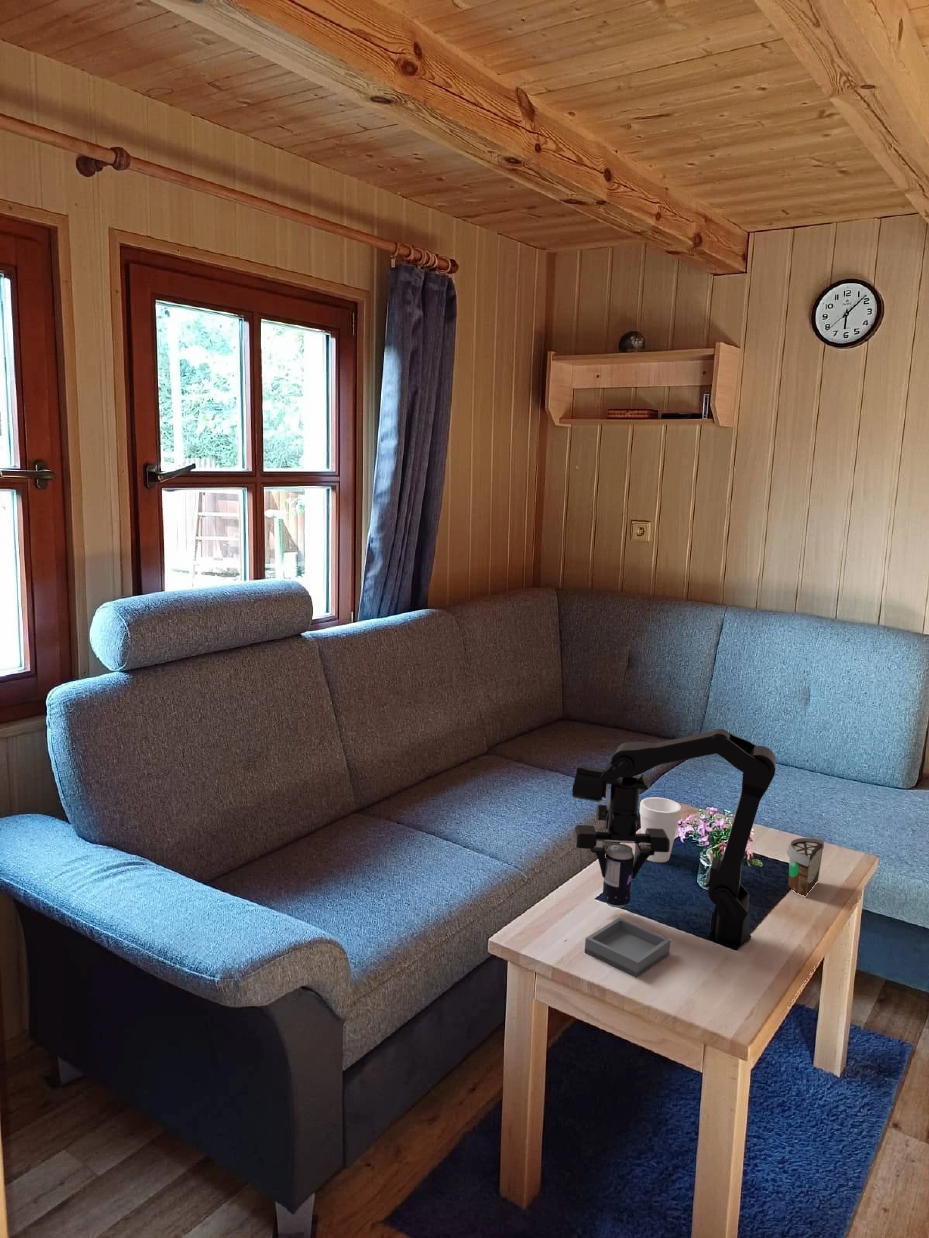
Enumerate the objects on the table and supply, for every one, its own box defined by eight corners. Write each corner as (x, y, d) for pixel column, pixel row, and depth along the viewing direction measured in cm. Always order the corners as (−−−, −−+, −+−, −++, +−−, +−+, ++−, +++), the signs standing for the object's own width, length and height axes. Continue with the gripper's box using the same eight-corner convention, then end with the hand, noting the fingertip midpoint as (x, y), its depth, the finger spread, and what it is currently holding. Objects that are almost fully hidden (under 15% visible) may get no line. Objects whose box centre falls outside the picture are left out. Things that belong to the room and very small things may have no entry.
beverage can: (629, 911, 187) (634, 855, 185) (601, 907, 188) (605, 852, 186) (630, 898, 193) (634, 844, 191) (602, 894, 194) (607, 840, 192)
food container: (792, 872, 215) (797, 832, 213) (819, 880, 211) (824, 839, 209) (775, 891, 205) (780, 849, 203) (803, 900, 201) (809, 857, 199)
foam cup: (629, 857, 218) (633, 805, 216) (644, 844, 226) (649, 794, 224) (667, 868, 213) (672, 815, 211) (682, 855, 221) (687, 804, 218)
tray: (669, 954, 177) (670, 939, 176) (636, 977, 168) (638, 962, 168) (618, 931, 184) (619, 917, 184) (584, 952, 176) (585, 937, 175)
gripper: (662, 792, 195) (655, 862, 197) (573, 788, 195) (568, 858, 197) (673, 813, 184) (666, 886, 186) (579, 809, 184) (574, 882, 186)
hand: (618, 877), depth 190 cm, fingers closed on beverage can, 6 cm apart
